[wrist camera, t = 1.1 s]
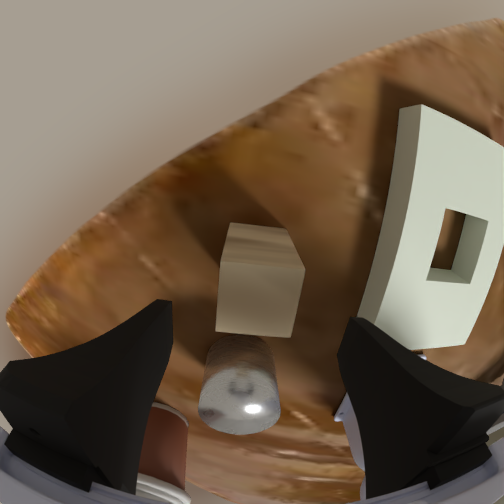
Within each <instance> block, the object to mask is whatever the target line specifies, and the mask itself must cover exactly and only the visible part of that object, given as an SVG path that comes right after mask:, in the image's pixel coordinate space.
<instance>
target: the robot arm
mask: <svg viewBox="0 0 504 504" xmlns="http://www.w3.org/2000/svg"><path fill="white" fill-rule="evenodd" d="M172 345H173V323H172V301H167V300H160V299H157V300H155V301H154V302H152V303H151V304H149V305H148V306H147V307H145V308H144V309H142V310H141V311H140V312H138V313H137V314H135V315H134V316H132V317H131V318H129V319H128V320H127V321H125V322H123V323H122V324H120V325H118V326H117V327H115V328H113V329H112V330H110V331H109V332H107V333H105V334H103V335H101V336H99V337H97V338H95V339H93V340H91V341H89V342H86V343H84V344H81V345H79V346H76V347H73V348H70V349H68V350H65V351H62V352H58V353H55V354H51V355H46V356H42V357H37V358H31V359H24V360H15V361H10V362H9V363H8V364H7V365H6V367H5V368H4V369H3V370H2V371H1V372H0V411H1V412H2V413H3V415H4V417H5V418H6V419H7V421H8V422H9V423H10V425H11V426H12V428H13V430H12V431H11V433H10V434H8V433H7V432H6V431H5V430H4V429H3V428H2V427H0V502H1V503H2V504H172V503H166V502H162V501H157V500H152V499H148V498H144V497H140V496H136V486H137V477H138V469H139V462H140V456H141V450H142V445H143V440H144V435H145V430H146V426H147V421H148V417H149V413H150V410H151V407H152V404H153V401H154V398H155V396H156V393H157V390H158V388H159V385H160V383H161V380H162V378H163V375H164V372H165V370H166V367H167V365H168V362H169V358H170V354H171V349H172ZM337 358H338V363H339V368H340V373H341V376H342V379H343V382H344V385H345V388H346V391H347V393H346V395H345V397H344V399H343V401H342V403H341V405H340V407H339V409H338V411H337V412H336V414H335V416H334V420H335V421H343V425H344V428H345V431H346V435H347V438H348V442H349V445H350V448H351V452H352V455H353V458H354V461H355V463H356V464H357V465H358V466H359V467H360V468H361V469H362V470H364V471H365V477H364V479H363V481H362V485H361V488H360V498H361V501H357V502H352V503H347V504H493V503H495V502H496V501H497V500H499V499H500V498H501V497H502V496H504V437H503V438H501V439H499V440H498V441H496V442H494V443H493V444H492V445H490V446H489V447H488V446H487V445H486V443H485V442H487V441H488V440H489V436H488V435H487V433H486V432H487V431H488V430H489V429H490V428H491V427H492V426H493V424H494V423H495V422H496V421H497V420H498V418H499V417H500V416H501V415H502V413H503V412H504V390H503V389H502V388H501V387H500V386H499V385H493V384H488V383H483V382H479V381H475V380H472V379H468V378H465V377H462V376H459V375H457V374H454V373H452V372H449V371H447V370H445V369H442V368H440V367H438V366H436V365H434V364H432V363H430V362H429V361H427V360H426V356H425V355H424V354H422V355H416V354H415V353H413V352H412V351H410V350H409V349H407V348H406V347H404V346H403V345H401V344H400V343H399V342H397V341H396V340H394V339H393V338H392V337H390V336H389V335H388V334H386V333H385V332H384V331H382V330H381V329H380V328H378V327H377V326H375V325H374V324H373V323H371V322H370V321H368V320H366V319H365V318H363V317H350V319H349V322H348V325H347V328H346V331H345V334H344V337H343V339H342V342H341V345H340V348H339V351H338V353H337Z"/></svg>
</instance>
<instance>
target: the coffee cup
mask: <svg viewBox="0 0 504 504" xmlns="http://www.w3.org/2000/svg"><path fill="white" fill-rule="evenodd" d="M188 425H189V423H188V421H187V419H186V417H185V416H184V415H183V414H182V413H180V412H179V411H178V410H176V409H174V408H172V407H170V406H168V405H164V404H160V403H157V402H153V404H152V407H151V410H150V413H149V417H148V421H147V426H146V430H145V435H144V440H143V445H142V450H141V456H140V462H139V469H138V477H137V486H136V496H140V497H144V498H148V499H152V500H157V501H162V502H166V503H172V504H190V502H191V497H190V496H189V494H188V493H187V492H186V491H185V470H186V451H187V435H188Z"/></svg>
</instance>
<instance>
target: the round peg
mask: <svg viewBox="0 0 504 504" xmlns="http://www.w3.org/2000/svg"><path fill="white" fill-rule="evenodd" d="M198 412H199V415H200V417H201V419H202V420H203V421H204V422H205V423H206V424H207V425H209V426H210V427H212V428H214V429H216V430H218V431H221V432H225V433H230V434H252V433H257V432H260V431H263V430H265V429H268V428H269V427H271V426H272V425H274V424H275V423H276V422H277V420H278V419H279V417H280V402H279V393H278V385H277V376H276V368H275V360H274V354H273V351H272V350H271V348H270V347H269V346H268V344H266V343H265V342H264V341H262V340H261V339H259V338H256V337H253V336H249V335H240V334H239V335H230V336H226V337H224V338H221V339H219V340H218V341H216V342H215V343H214V344H213V345H212V346H211V347H210V349H209V351H208V354H207V359H206V365H205V371H204V377H203V382H202V388H201V394H200V400H199V406H198Z"/></svg>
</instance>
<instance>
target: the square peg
mask: <svg viewBox="0 0 504 504" xmlns="http://www.w3.org/2000/svg"><path fill="white" fill-rule="evenodd" d="M304 275H305V267H304V265H303V263H302V261H301V259H300V257H299V255H298V253H297V250H296V248H295V246H294V244H293V242H292V240H291V238H290V236H289V234H288V232H287V230H286V229H284V228H276V227H267V226H258V225H250V224H240V223H231V222H230V225H229V229H228V233H227V237H226V241H225V245H224V249H223V253H222V257H221V262H220V275H219V287H218V301H217V315H216V330H215V331H218V332H227V333H237V334H248V335H260V336H273V337H289V338H291V333H292V329H293V325H294V321H295V316H296V312H297V307H298V303H299V298H300V294H301V289H302V284H303V280H304Z"/></svg>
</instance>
